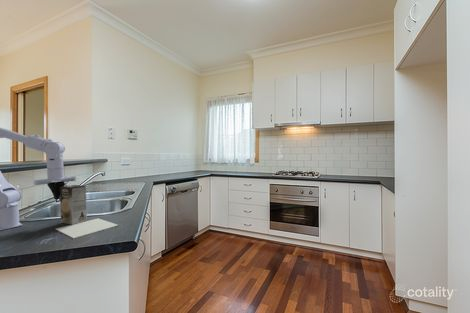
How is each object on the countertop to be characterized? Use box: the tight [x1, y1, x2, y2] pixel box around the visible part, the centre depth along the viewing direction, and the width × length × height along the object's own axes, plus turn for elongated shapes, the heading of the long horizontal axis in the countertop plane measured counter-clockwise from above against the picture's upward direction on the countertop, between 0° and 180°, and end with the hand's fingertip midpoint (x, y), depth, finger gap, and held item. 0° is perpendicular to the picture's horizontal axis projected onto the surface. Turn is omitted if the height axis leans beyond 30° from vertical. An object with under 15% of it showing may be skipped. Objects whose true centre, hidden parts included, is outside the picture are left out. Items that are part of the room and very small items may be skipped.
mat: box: [55, 218, 119, 239], centre depth 90 cm, size 18×16×1 cm
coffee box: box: [59, 184, 88, 225], centre depth 98 cm, size 9×6×16 cm
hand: (56, 198), depth 98 cm, fingers closed
